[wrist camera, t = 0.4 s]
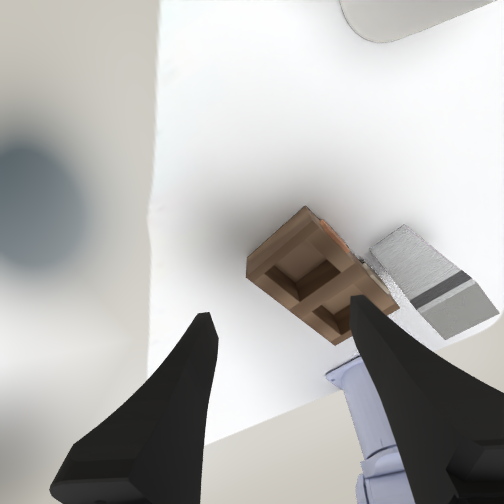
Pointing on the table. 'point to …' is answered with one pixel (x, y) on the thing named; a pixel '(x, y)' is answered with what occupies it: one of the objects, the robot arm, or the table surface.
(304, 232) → the port block
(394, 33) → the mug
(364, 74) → the table surface
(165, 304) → the table surface
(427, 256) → the plug
